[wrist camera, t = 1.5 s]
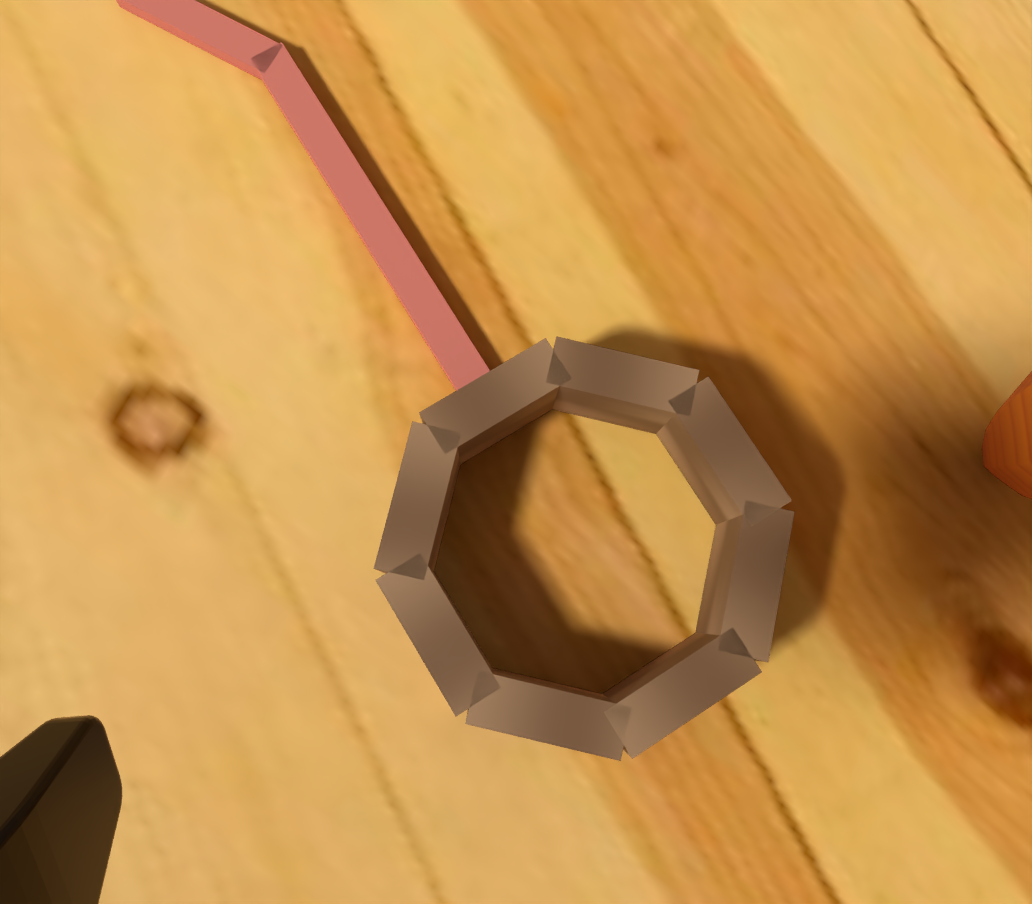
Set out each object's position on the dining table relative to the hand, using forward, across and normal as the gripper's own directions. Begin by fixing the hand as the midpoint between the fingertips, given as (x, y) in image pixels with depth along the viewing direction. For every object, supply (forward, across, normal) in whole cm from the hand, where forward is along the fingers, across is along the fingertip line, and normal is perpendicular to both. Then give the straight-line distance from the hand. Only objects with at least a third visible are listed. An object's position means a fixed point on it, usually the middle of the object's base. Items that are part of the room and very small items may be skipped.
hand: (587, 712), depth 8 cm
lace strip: (+20, +5, -2) cm, 20 cm away
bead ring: (+13, -2, +7) cm, 15 cm away
